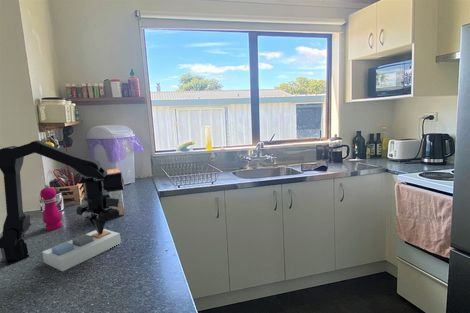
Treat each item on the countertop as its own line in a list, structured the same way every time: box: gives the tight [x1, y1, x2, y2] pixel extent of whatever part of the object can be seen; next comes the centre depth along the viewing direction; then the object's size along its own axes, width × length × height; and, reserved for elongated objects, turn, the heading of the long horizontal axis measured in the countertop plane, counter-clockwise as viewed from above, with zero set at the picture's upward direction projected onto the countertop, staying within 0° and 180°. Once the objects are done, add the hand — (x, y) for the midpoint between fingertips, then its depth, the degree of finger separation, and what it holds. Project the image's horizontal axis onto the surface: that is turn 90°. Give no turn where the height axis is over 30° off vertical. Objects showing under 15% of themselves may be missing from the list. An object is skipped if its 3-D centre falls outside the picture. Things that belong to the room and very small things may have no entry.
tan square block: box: [91, 230, 110, 239], centre depth 113 cm, size 5×5×3 cm
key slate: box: [50, 241, 74, 256], centre depth 102 cm, size 5×5×3 cm
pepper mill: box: [39, 183, 63, 231], centre depth 133 cm, size 7×7×20 cm
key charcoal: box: [71, 233, 93, 247], centre depth 107 cm, size 5×5×3 cm
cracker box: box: [106, 168, 125, 216], centre depth 148 cm, size 14×6×21 cm, turn 22°
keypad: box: [41, 228, 122, 272], centre depth 108 cm, size 22×12×4 cm, turn 147°
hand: (100, 233), depth 113 cm, fingers closed, pressing on tan square block
